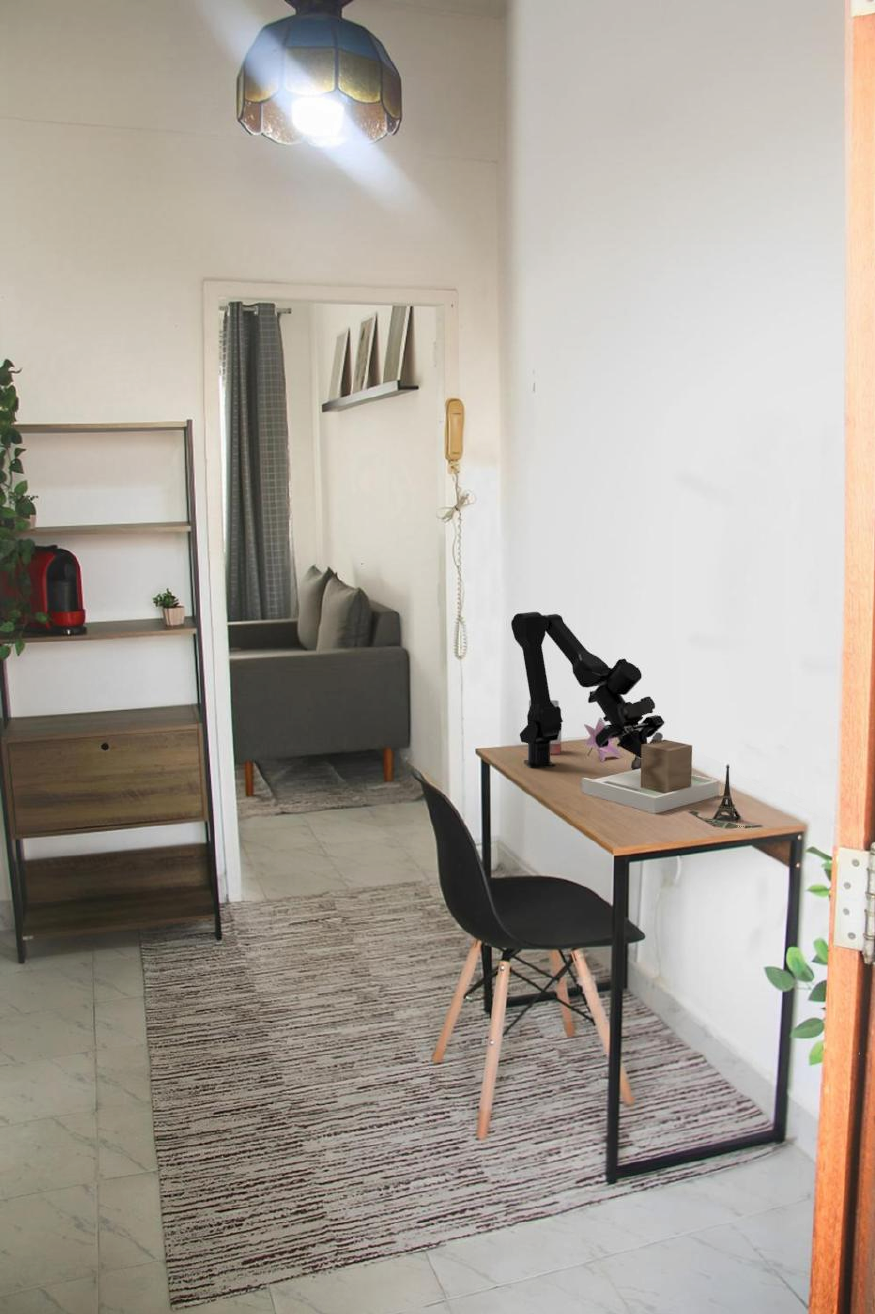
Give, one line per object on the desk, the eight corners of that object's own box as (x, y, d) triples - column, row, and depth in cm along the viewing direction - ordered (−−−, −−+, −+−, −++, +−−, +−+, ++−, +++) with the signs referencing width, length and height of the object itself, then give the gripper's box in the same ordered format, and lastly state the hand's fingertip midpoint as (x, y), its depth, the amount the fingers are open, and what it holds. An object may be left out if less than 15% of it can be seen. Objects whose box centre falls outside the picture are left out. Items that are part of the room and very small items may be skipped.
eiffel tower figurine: (685, 813, 242) (686, 754, 240) (726, 809, 244) (727, 750, 242) (721, 833, 227) (723, 770, 225) (764, 828, 230) (766, 766, 228)
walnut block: (640, 787, 252) (641, 744, 250) (663, 781, 257) (664, 739, 255) (668, 794, 245) (669, 750, 244) (691, 788, 250) (692, 745, 249)
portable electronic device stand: (635, 762, 285) (636, 730, 284) (666, 764, 283) (667, 732, 282) (631, 770, 277) (631, 738, 276) (662, 772, 275) (663, 739, 273)
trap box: (582, 792, 257) (582, 778, 256) (645, 777, 270) (645, 763, 270) (655, 813, 240) (655, 798, 239) (718, 795, 253) (718, 780, 253)
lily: (577, 767, 285) (593, 737, 281) (565, 740, 295) (580, 712, 291) (616, 776, 289) (633, 748, 285) (603, 750, 299) (619, 722, 295)
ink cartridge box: (561, 750, 299) (562, 697, 297) (559, 754, 294) (559, 700, 292) (530, 749, 301) (530, 696, 299) (527, 753, 296) (527, 699, 294)
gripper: (605, 691, 250) (641, 747, 243) (659, 681, 261) (695, 735, 255) (579, 719, 257) (614, 774, 250) (633, 709, 269) (667, 761, 262)
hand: (648, 760), depth 254 cm, fingers closed
